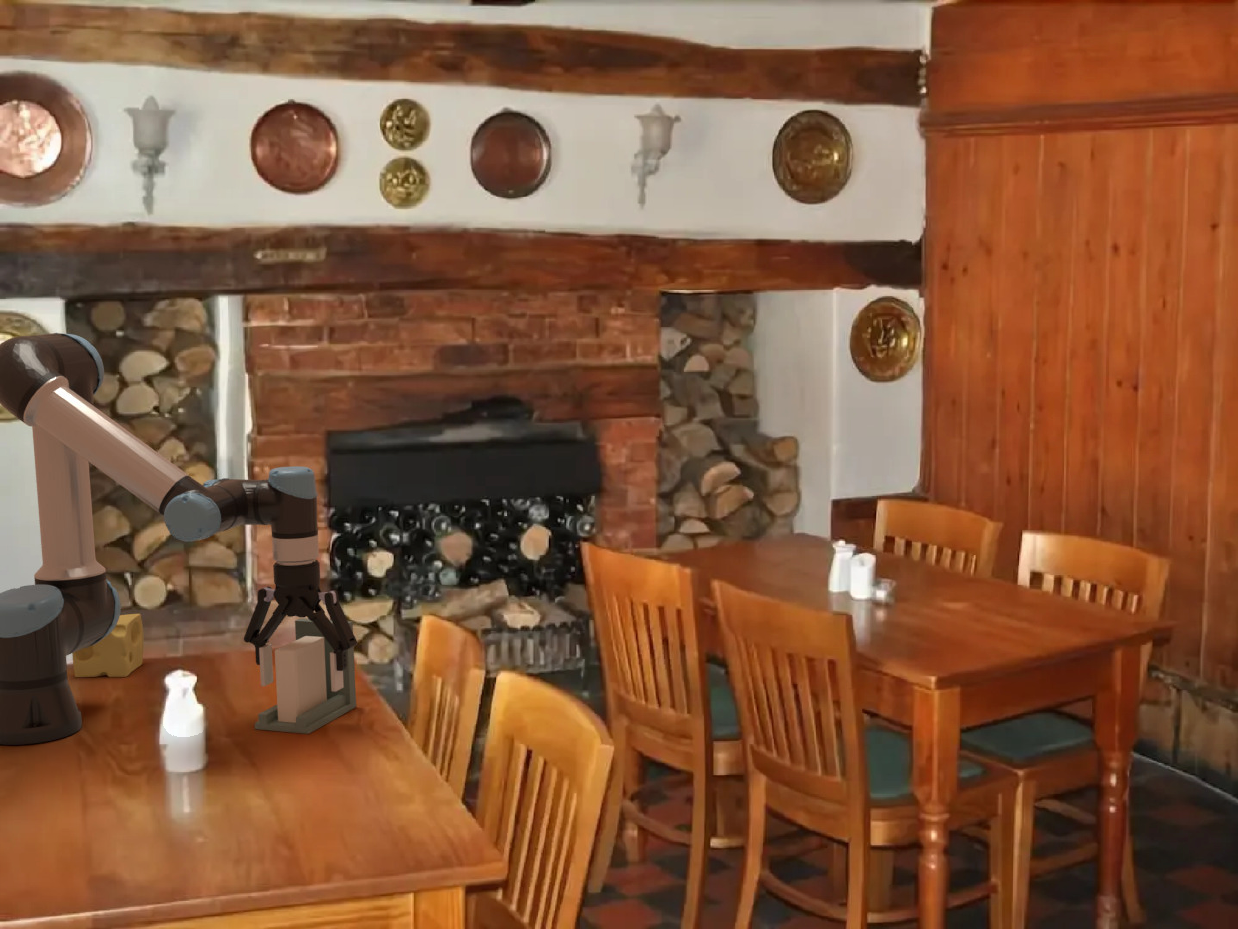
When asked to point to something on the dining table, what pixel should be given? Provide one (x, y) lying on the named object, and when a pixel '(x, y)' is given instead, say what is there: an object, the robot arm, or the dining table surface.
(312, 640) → the door
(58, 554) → the robot arm
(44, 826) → the dining table surface
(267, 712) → the track
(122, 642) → the cheese
